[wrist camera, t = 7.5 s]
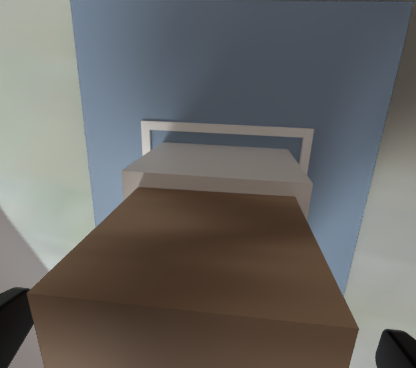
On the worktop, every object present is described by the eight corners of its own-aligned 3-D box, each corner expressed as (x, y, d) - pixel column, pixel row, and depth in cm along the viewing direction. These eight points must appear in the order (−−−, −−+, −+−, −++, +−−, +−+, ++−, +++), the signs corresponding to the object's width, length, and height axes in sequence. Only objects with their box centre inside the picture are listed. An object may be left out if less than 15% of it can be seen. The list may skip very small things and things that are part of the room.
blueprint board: (400, 7, 12) (417, -1, 10) (325, 336, 18) (331, 353, 16) (82, 5, 13) (67, -2, 12) (113, 311, 19) (105, 325, 18)
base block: (287, 149, 13) (312, 183, 8) (273, 258, 15) (287, 335, 10) (162, 142, 14) (121, 170, 9) (165, 248, 16) (131, 316, 11)
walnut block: (295, 196, 9) (358, 328, 4) (278, 323, 10) (308, 523, 6) (138, 186, 9) (26, 293, 4) (146, 308, 11) (71, 480, 6)
